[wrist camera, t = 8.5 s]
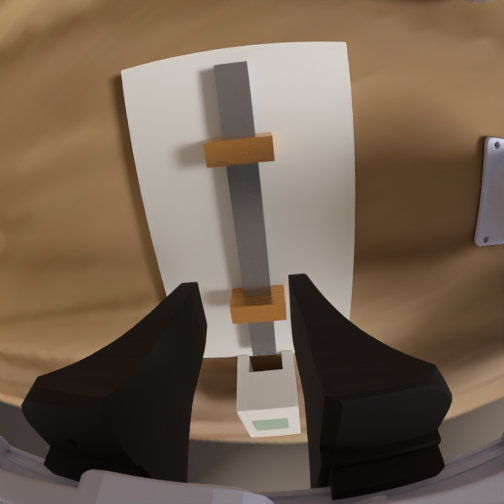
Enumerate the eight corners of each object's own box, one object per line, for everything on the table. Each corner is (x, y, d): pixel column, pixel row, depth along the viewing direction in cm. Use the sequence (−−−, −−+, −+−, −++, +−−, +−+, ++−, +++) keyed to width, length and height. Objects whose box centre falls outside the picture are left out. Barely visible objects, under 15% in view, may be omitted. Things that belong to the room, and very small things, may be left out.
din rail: (263, 61, 14) (263, 56, 12) (287, 343, 22) (288, 363, 20) (200, 69, 14) (193, 65, 12) (242, 346, 22) (240, 366, 20)
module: (292, 350, 22) (298, 407, 19) (296, 386, 26) (300, 434, 22) (237, 355, 23) (236, 412, 19) (250, 390, 26) (251, 438, 23)
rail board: (340, 45, 14) (346, 42, 13) (343, 336, 23) (346, 347, 22) (129, 71, 15) (121, 70, 14) (188, 347, 24) (186, 357, 23)
